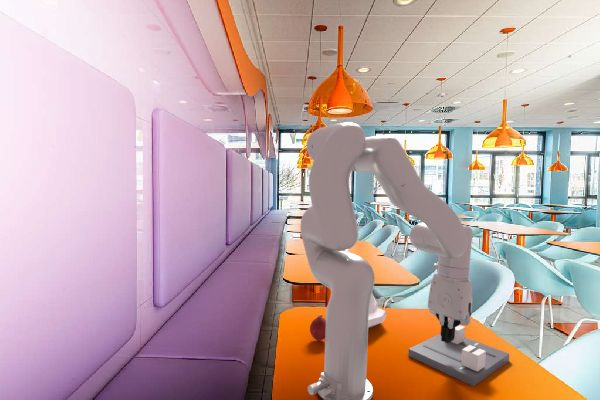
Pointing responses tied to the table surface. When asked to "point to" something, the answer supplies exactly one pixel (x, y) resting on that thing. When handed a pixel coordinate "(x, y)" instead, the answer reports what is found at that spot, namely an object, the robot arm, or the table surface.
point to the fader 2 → (473, 358)
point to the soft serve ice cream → (375, 313)
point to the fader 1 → (459, 334)
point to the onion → (318, 328)
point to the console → (457, 358)
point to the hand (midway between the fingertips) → (447, 340)
